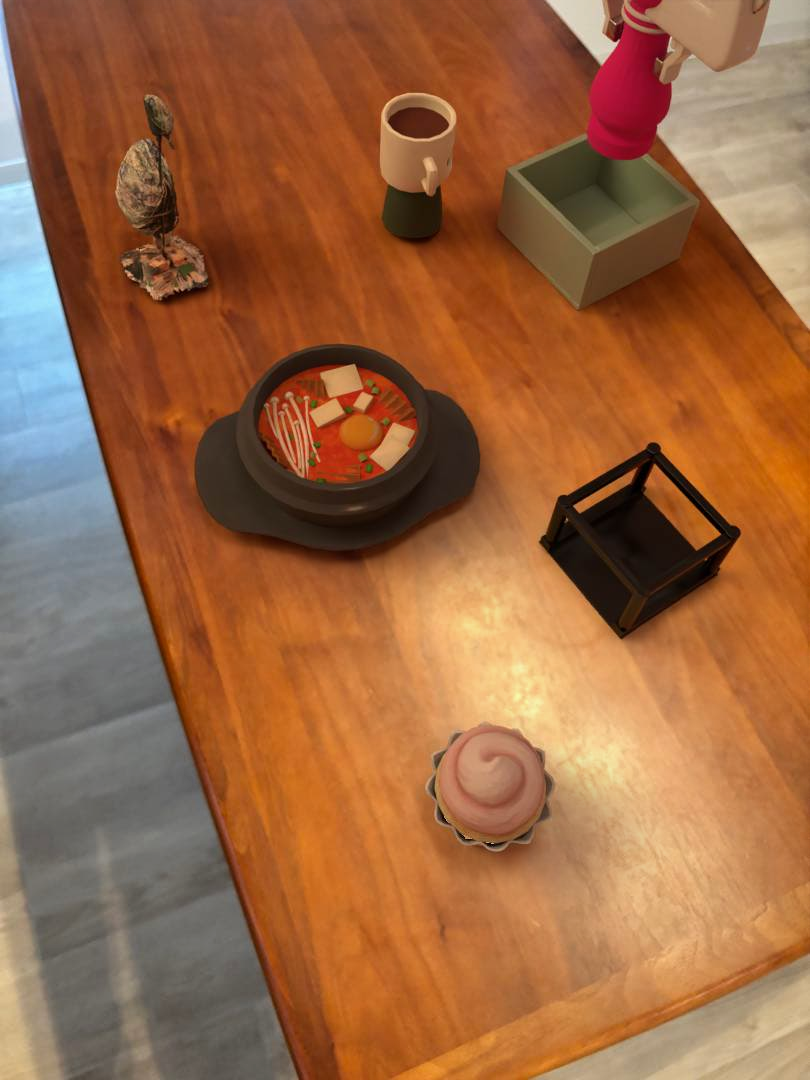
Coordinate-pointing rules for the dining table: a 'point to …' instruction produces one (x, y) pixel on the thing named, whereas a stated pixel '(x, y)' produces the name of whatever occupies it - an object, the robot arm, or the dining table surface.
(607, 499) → the black open frame holder
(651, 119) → the pepper mill
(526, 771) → the cupcake
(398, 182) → the character mug
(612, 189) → the open square box
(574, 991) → the dining table surface
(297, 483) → the casserole
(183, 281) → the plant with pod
